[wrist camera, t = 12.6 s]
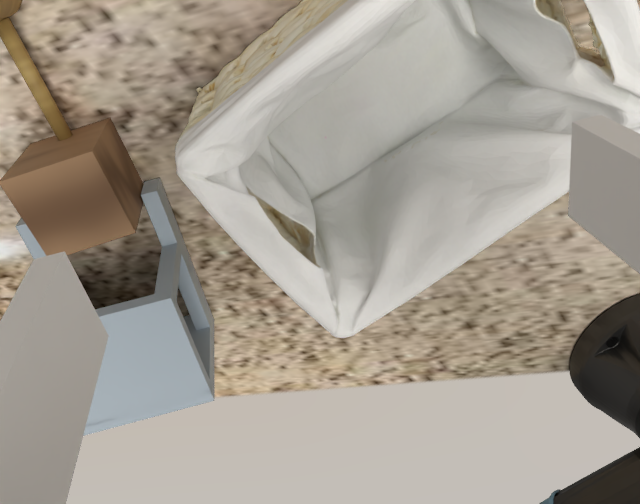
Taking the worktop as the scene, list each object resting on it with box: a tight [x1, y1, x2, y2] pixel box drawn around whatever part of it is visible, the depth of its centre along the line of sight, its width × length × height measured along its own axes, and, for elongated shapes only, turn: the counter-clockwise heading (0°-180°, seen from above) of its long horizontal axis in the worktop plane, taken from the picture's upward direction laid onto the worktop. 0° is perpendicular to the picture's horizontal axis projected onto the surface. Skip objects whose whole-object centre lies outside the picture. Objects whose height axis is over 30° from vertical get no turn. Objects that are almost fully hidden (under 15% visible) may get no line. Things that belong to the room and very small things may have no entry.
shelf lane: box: [16, 178, 214, 436], centre depth 42 cm, size 14×10×10 cm
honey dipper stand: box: [0, 0, 143, 256], centre depth 35 cm, size 17×6×8 cm, turn 16°
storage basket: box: [175, 0, 640, 338], centre depth 35 cm, size 24×16×15 cm
